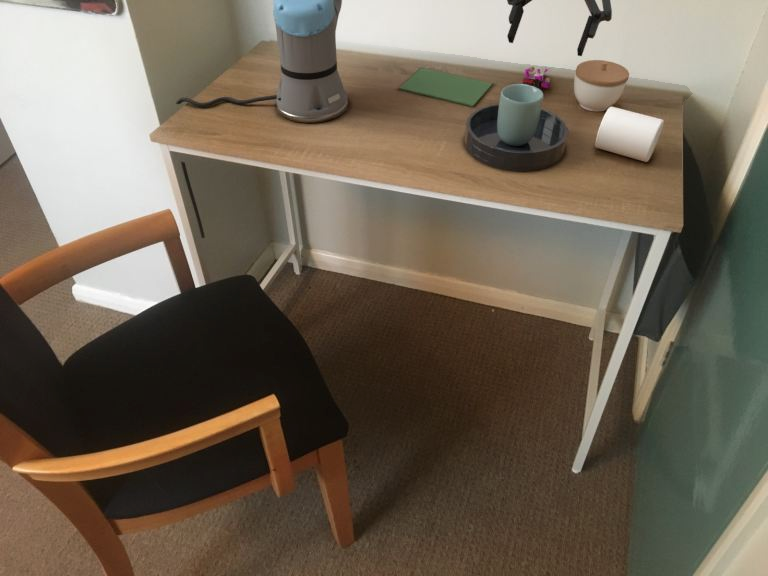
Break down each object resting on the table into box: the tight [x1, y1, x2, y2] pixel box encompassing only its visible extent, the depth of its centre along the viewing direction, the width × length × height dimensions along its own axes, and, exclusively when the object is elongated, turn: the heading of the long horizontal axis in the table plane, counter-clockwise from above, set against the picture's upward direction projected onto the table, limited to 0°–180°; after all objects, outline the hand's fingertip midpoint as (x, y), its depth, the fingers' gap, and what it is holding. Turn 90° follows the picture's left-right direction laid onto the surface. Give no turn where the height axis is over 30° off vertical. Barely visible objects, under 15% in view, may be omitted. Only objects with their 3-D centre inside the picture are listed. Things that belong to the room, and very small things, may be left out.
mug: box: [594, 106, 665, 163], centre depth 117 cm, size 12×10×8 cm
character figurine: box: [522, 66, 551, 89], centre depth 137 cm, size 6×5×12 cm
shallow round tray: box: [464, 102, 569, 172], centre depth 119 cm, size 19×19×4 cm
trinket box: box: [573, 59, 630, 113], centre depth 129 cm, size 11×11×9 cm
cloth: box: [398, 67, 494, 107], centre depth 138 cm, size 18×12×1 cm, turn 62°
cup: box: [497, 83, 544, 146], centre depth 116 cm, size 8×8×10 cm
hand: (543, 46), depth 116 cm, fingers open, 13 cm apart
